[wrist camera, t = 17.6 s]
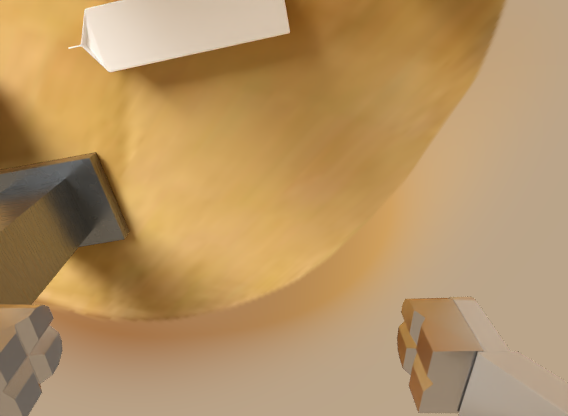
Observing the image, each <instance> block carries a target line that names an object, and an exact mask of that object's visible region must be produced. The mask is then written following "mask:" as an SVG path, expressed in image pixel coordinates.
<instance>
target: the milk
mask: <svg viewBox="0 0 568 416" xmlns="http://www.w3.org/2000/svg"><path fill="white" fill-rule="evenodd" d="M288 33H290V28H289V22H288V17H287V11H286V5H285V0H120V1H116V2H112V3H107V4H103V5H99V6H94V7H90V8H86V9H85V11H84V20H83V30H82V40H81V45H78V46H74V47H69V48H68V49H71V48H76V47H80V46H82V47H83V48H84V49H85V50H86V51H87V52H88V53H89V54H90V55H91V56H92V57H94V58H95V59H96V60H97V61H98V62H99V63H100V64H101V65H102V66H103V67H104V68H105V69H106V70H107V71H108V72H115V71H119V70H124V69H128V68H133V67H138V66H142V65H147V64H151V63H156V62H160V61H165V60H170V59H174V58H179V57H183V56H188V55H192V54H197V53H202V52H206V51H211V50H215V49H220V48H224V47H229V46H234V45H238V44H243V43H247V42H252V41H256V40H261V39H266V38H270V37H275V36H279V35H284V34H288Z"/></svg>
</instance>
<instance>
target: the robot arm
mask: <svg viewBox="0 0 568 416" xmlns="http://www.w3.org/2000/svg"><path fill="white" fill-rule="evenodd" d="M401 313H402V315H403V318H404V322H403V323H402V324H401V325H400V326H399V328H398V336H397V345H398V353H399V358H400V361H401V364H402V368H403V369H404V370H405V371H407V372H408V373H409V374H410V375H411V377H410V382H409V388H410V391H411V393H412V396H413V399H414V402H415V405H416V407H417V410H418V413H459V414H458V415H459V416H568V382H566V381H565V380H563V379H562V378H560V377H558V376H557V375H555V374H554V373H552V372H550V371H549V370H547V369H546V368H544V367H543V366H541V365H539V364H537V363H536V362H534V361H533V360H531V359H530V358H528V357H526V356H525V355H523V354H522V353H520V352H519V351H511V350H510V349H509V347H508V346H507V345H506V343H505V342H504V340H503V339H502V337H501V336H500V334H499V333H498V331H497V330H496V329H495V327H494V326H493V324H492V323H491V321H490V320H489V318H488V317H487V315H486V314H485V313H484V311H483V310H482V309H481V307H480V305H479V304H478V302H477V301H476V300H475V299H474V298H472V297H450V298H427V299H425V298H423V299H405V301H404V302H403V305H402V311H401ZM52 320H53V316H52V313H51V312H50V309H49V307H47V306H45V305H8V304H0V416H28V415H29V413H30V411H31V410H32V408H33V407H34V405H35V403H36V402H37V400H38V398H39V397H40V395H41V393H42V390H41V385H40V384H41V383H42V382H44V381H45V380H46V379H48V378H49V377H50V376H52V375H53V373H54V372H55V370H56V368H57V366H58V365H59V362H60V358H61V354H62V340H61V337H60V334H59V332H57V331H56V330H55V329H53V328H52V327H51V326H50V323H51V322H52Z"/></svg>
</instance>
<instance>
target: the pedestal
mask: <svg viewBox="0 0 568 416" xmlns="http://www.w3.org/2000/svg"><path fill="white" fill-rule="evenodd" d="M128 233H129V229H128V227H127V224H126V222H125V220H124V217H123V215H122V213H121V210H120V208H119V206H118V203H117V201H116V199H115V196H114V194H113V192H112V189H111V187H110V184H109V182H108V180H107V177H106V175H105V173H104V170H103V168H102V166H101V163H100V161H99V159H98V156H97V154H96V152H95V153H90V154H85V155H79V156H74V157H68V158H63V159H57V160H52V161H46V162H41V163H36V164H30V165H25V166H19V167H14V168H8V169H3V170H0V304H8V305H32V303H33V302H34V301H35V300H36V299H37V297H38V296H39V295H40V294H41V292H42V291H43V290H44V289H45V288H46V286H47V285H48V284H49V283H50V281H51V280H52V279H53V278H54V277H55V275H56V274H57V273H58V272H59V270H60V269H61V268H62V267H63V265H64V264H65V263H66V262H67V261H68V259H69V258H70V257H71V256H72V254H73V253H74V252H75V251H76V250H77V248H78V247H81V246H87V245H93V244H99V243H105V242H111V241H117V240H123V239H125V238H126V236H127V235H128Z"/></svg>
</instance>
